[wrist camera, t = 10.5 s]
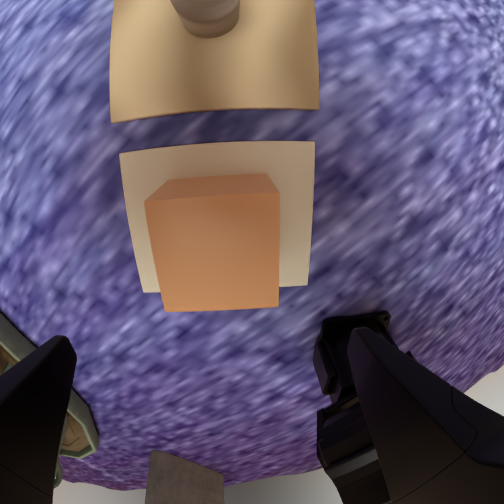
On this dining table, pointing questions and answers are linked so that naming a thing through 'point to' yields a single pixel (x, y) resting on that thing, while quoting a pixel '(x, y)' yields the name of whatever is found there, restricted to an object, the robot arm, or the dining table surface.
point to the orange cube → (216, 242)
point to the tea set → (78, 415)
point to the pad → (217, 164)
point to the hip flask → (182, 482)
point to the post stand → (212, 57)
